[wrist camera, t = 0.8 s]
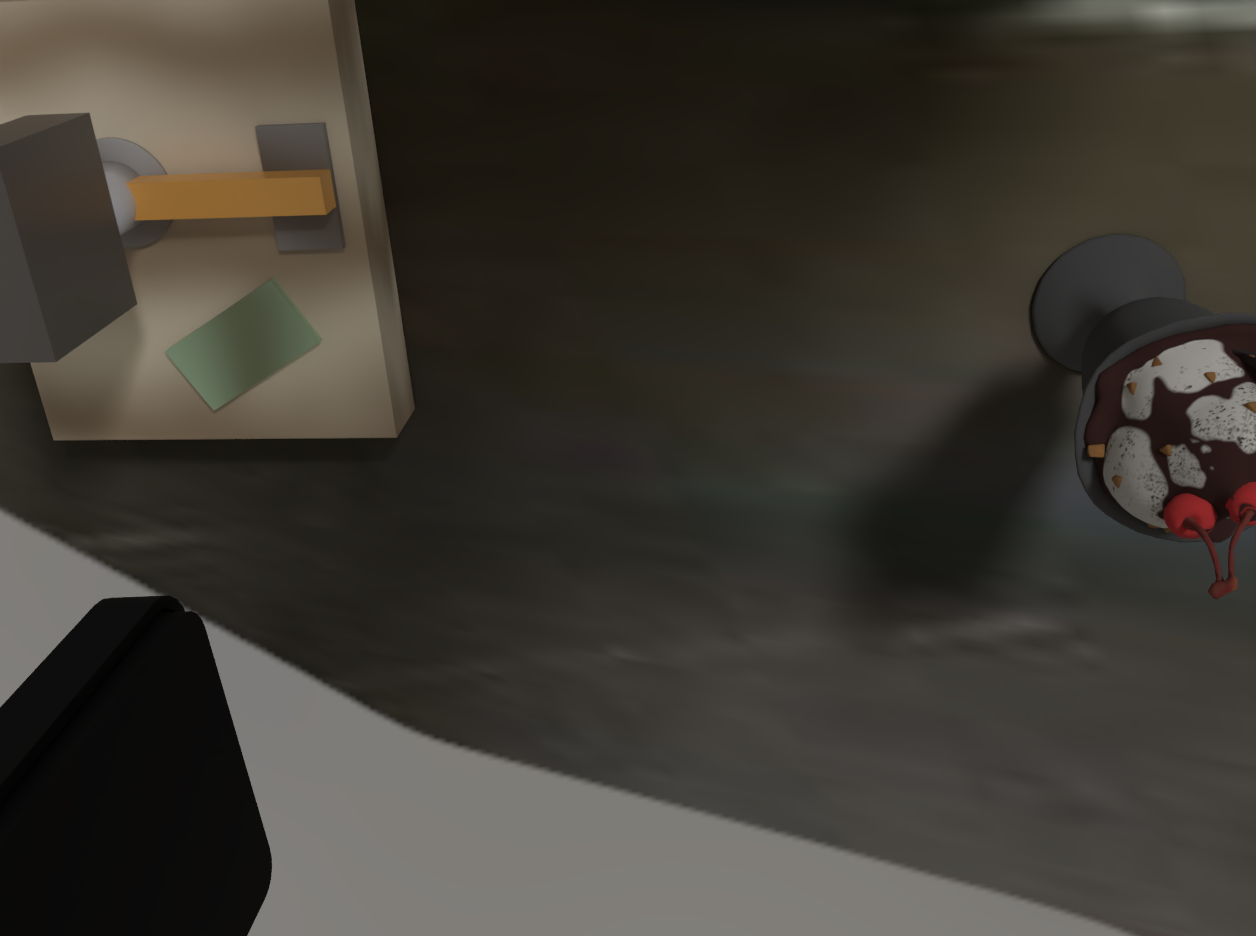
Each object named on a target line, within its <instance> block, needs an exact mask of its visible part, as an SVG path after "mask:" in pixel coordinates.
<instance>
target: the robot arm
mask: <svg viewBox="0 0 1256 936" xmlns="http://www.w3.org/2000/svg"><path fill="white" fill-rule="evenodd" d="M271 870H272V858H271V853H270V847H269V844H268V840H267V837H266V834H265V830H264V827H263V823H262V820H261V817H260V813H259V810H258V807H257V803H256V800H255V796H254V793H253V790H252V786H251V782H250V779H249V776H248V772H247V769H246V766H245V762H244V759H243V755H242V752H241V748H240V745H239V742H238V738H237V735H236V731H235V728H234V725H233V721H232V718H231V714H230V711H229V707H228V704H227V700H226V697H225V694H224V690H223V687H222V683H221V680H220V677H219V673H218V670H217V666H216V663H215V659H214V657H213V653H212V649H211V646H210V642H209V639H208V636H207V632H206V629H205V626H204V624H203V621H202V619H201V618H200V617H199V616H198V614H196V613H194V612H192V611H188V612H185V610H184V608H183V606H182V605H181V604H180V602H179V601H178V600H177V599H175V598H173V597H171V596H147V597H122V598H108V599H103V600H101V601H100V602H98V603H97V604H96V605H94V607H93V608H92V609H91V610H90V611H89V612H88V613H87V614H86V615H85V616H84V617H83V618H82V620H81V621H80V622H79V623H78V624H77V625H76V626H75V627H74V629H72V630H71V631H70V632H69V634H68V635H67V636H66V637H65V638H64V639H63V640H62V641H61V642H60V643H59V644H58V645H57V647H56V648H55V649H54V650H53V651H52V652H51V653H50V654H49V655H48V656H47V658H46V659H45V660H44V661H43V662H42V663H41V664H40V665H39V666H38V667H37V668H36V669H35V671H34V672H33V673H32V674H31V675H30V676H29V677H28V678H27V679H26V680H25V681H24V682H23V683H22V685H21V686H20V687H19V688H18V689H17V690H16V691H15V692H14V694H12V695H11V697H10V698H9V699H8V700H7V701H6V702H5V703H4V704H3V705H2V706H1V707H0V936H247V935H248V932H249V931H250V928H251V926H252V924H253V922H254V920H255V918H256V916H257V914H258V912H259V910H260V908H261V906H262V904H263V902H264V900H265V897H266V895H267V892H268V889H269V885H270V880H271V872H272V871H271Z"/></svg>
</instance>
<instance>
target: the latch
mask: <svg viewBox="0 0 1256 936" xmlns="http://www.w3.org/2000/svg"><path fill="white" fill-rule="evenodd" d="M335 207H336V203H335V197H334V191H333V185H332V179H331V173H330V169H322V170H293V171H264V172H235V173H206V174H177V175H148V176H140V175H139V174H138V173H137V172H136V171H135V170H133V169H132V168H131V167H129V166H127V165H125V164H123V163H119V162H115V161H107V162H102V161H101V157H100V153H99V149H98V145H97V141H96V137H95V133H94V129H93V125H92V121H91V117H90V113H68V114H44V115H26V116H23V117H20V118H17V119H15V120H12V121H9V122H6V123H3V124H0V363H42V362H57V361H59V360H60V359H61V358H63V357H64V356H66V355H67V354H68V353H70V352H71V351H73V350H74V349H75V348H77V347H78V346H80V345H81V344H82V343H84V342H85V341H87V340H88V339H89V338H91V337H92V336H94V335H95V334H96V333H98V332H99V331H101V330H102V329H103V328H105V327H106V326H108V325H109V324H110V323H112V322H113V321H115V320H116V319H117V318H119V317H120V316H122V315H123V314H124V313H126V312H127V311H129V310H130V309H131V308H133V307H134V306H135V305H137V300H136V296H135V292H134V288H133V284H132V280H131V276H130V272H129V268H128V264H127V260H126V256H125V252H124V248H123V244H122V240H121V236H120V235H122V234H123V233H125V232H127V231H128V230H130V229H132V228H133V227H135V226H137V225H138V224H140V223H141V222H143V221H144V220H169V219H202V218H236V217H269V216H302V215H326V214H328V213H329V212H330V211H331V210H333V209H334V208H335Z"/></svg>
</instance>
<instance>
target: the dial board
mask: <svg viewBox="0 0 1256 936" xmlns="http://www.w3.org/2000/svg"><path fill="white" fill-rule="evenodd" d="M68 113H90V117H91V121H92V125H93V129H94V133H95V137H96V141H97V145H98V149H99V153H100V157H101V161H102V162H107V161H115V162H119V163H123V164H125V165H127V166H129V167H131V168H132V169H133V170H135V171H136V172H137V173H138V174H139V175H140V176H148V175H177V174H206V173H235V172H264V171H293V170H322V169H330V173H331V179H332V185H333V191H334V197H335V203H336V207H335V208H334V209H333V210H331V211H330V212H329V213H328V214H326V215H302V216H269V217H236V218H202V219H169V220H144V221H143V222H141V223H140V224H138V225H137V226H135V227H133V228H132V229H130V230H128V231H127V232H125V233H123V234H122V235H120V236H121V240H122V244H123V248H124V252H125V256H126V260H127V264H128V268H129V272H130V276H131V280H132V284H133V288H134V292H135V296H136V300H137V305H135V306H134V307H133V308H131V309H130V310H129V311H127V312H126V313H124V314H123V315H122V316H120V317H119V318H117V319H116V320H115V321H113V322H112V323H110V324H109V325H108V326H106V327H105V328H103V329H102V330H101V331H99V332H98V333H96V334H95V335H94V336H92V337H91V338H89V339H88V340H87V341H85V342H84V343H82V344H81V345H80V346H78V347H77V348H75V349H74V350H73V351H71V352H70V353H68V354H67V355H66V356H64V357H63V358H61V359H60V360H59V361H57V362H42V363H31V367H32V370H33V373H34V377H35V380H36V383H37V387H38V390H39V393H40V397H41V400H42V403H43V407H44V410H45V413H46V417H47V420H48V423H49V427H50V430H51V433H52V437H53V440H166V439H295V438H397V437H398V435H399V434H400V432H401V430H402V429H403V427H404V426H405V424H406V422H407V421H408V419H409V418H410V416H411V415H412V413H413V411H414V410H415V406H414V399H413V392H412V386H411V379H410V372H409V365H408V359H407V352H406V345H405V338H404V332H403V325H402V318H401V311H400V305H399V298H398V291H397V284H396V278H395V271H394V264H393V257H392V251H391V244H390V237H389V231H388V224H387V217H386V210H385V204H384V197H383V190H382V183H381V177H380V170H379V163H378V156H377V150H376V143H375V136H374V129H373V123H372V116H371V109H370V103H369V96H368V89H367V82H366V76H365V69H364V62H363V55H362V49H361V42H360V35H359V28H358V22H357V15H356V8H355V1H354V0H0V124H3V123H6V122H9V121H12V120H15V119H17V118H20V117H23V116H26V115H44V114H68Z"/></svg>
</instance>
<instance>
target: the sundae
mask: <svg viewBox="0 0 1256 936" xmlns="http://www.w3.org/2000/svg"><path fill="white" fill-rule="evenodd" d="M1032 320H1033V326H1034V332H1035V334H1036V336H1037V338H1038V340H1039V342H1040V344H1041V346H1042V347H1043V348H1044V350H1045V351H1046V353H1047V354H1048V355H1049V356H1050V357H1052V358H1053V359H1054V360H1056V361H1057V362H1058V363H1060V364H1062V365H1064V366H1065V367H1067V368H1069V369H1072V370H1075V371H1079V372H1082V390H1083V398H1082V401H1081V404H1080V408H1079V412H1078V417H1077V422H1076V426H1075V431H1074V437H1075V459H1076V466H1077V473H1078V476H1079V478H1080V480H1081V482H1082V485H1083V487H1084V489H1085V491H1086V493H1087V494H1088V496H1089V497H1090V499H1091V500H1092V502H1093V503H1094V504H1095V505H1096V506H1097V507H1098V508H1099V509H1100V510H1102V511H1103V512H1104V513H1105V514H1106V515H1108V516H1109V517H1111V518H1112V519H1114V520H1116V521H1117V522H1119V523H1120V524H1122V525H1124V526H1126V527H1128V528H1130V529H1132V530H1134V531H1136V532H1139V533H1142V534H1146V535H1149V536H1152V537H1156V538H1160V539H1166V540H1172V541H1177V542H1198V541H1205V543H1206V545H1207V546H1208V549H1209V552H1210V554H1211V557H1212V560H1213V563H1214V567H1215V574H1216V582H1215V583H1213V584H1212V585H1211V587H1210V588H1209V590H1208V593H1209V594H1210V595H1211V596H1212V598H1214V599H1219V598H1220V597H1222V596H1224V595H1226V594H1228V593H1230V592H1232V591H1234V590H1236V589H1237V578H1236V577H1235V576H1234V559H1233V549H1234V546H1235V544H1236V542H1237V540H1238V538H1239V536H1240V533H1241V532H1242V531H1244V530H1246V529H1248V528H1250V527H1252V526H1254V525H1256V314H1247V313H1224V314H1216V315H1215V314H1213V313H1212V312H1210V311H1208V310H1207V309H1205V308H1202V307H1200V306H1198V305H1195V304H1192V303H1189V302H1186V301H1185V283H1184V278H1183V275H1182V273H1181V271H1180V269H1179V266H1178V265H1177V263H1176V262H1175V260H1174V259H1173V257H1172V255H1170V254H1169V253H1168V252H1167V251H1166V250H1164V249H1163V248H1162V247H1161V246H1159V245H1157V244H1156V243H1154V242H1152V241H1151V240H1149V239H1146V238H1142V237H1138V236H1134V235H1126V234H1113V235H1105V236H1100V237H1096V238H1092V239H1088V240H1086V241H1084V242H1082V243H1080V244H1079V245H1077V246H1075V247H1073V248H1071V249H1070V250H1068V251H1067V252H1065V253H1064V254H1062V255H1061V256H1060V257H1059V258H1058V259H1057V260H1056V261H1055V262H1054V263H1053V264H1052V265H1051V266H1050V268H1049V269H1048V270H1047V272H1046V273H1045V274H1044V276H1043V277H1042V278H1041V281H1040V283H1039V286H1038V288H1037V290H1036V293H1035V297H1034V301H1033V304H1032ZM1230 536H1233V537H1232V539H1231V542H1230V546H1229V558H1228V568H1229V573H1228V578H1227V579H1226V581H1224V579H1223V578H1222V575H1221V569H1220V564H1219V560H1218V556H1217V553H1216V550H1215V547H1214V544H1213V542H1222V541H1224V540H1226V539H1228V538H1229V537H1230Z"/></svg>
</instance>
